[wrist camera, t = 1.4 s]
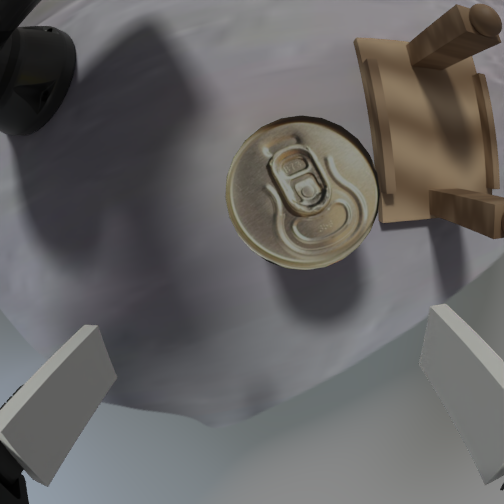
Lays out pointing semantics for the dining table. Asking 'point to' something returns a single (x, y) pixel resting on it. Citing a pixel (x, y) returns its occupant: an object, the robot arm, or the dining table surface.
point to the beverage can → (302, 192)
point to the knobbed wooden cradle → (435, 122)
